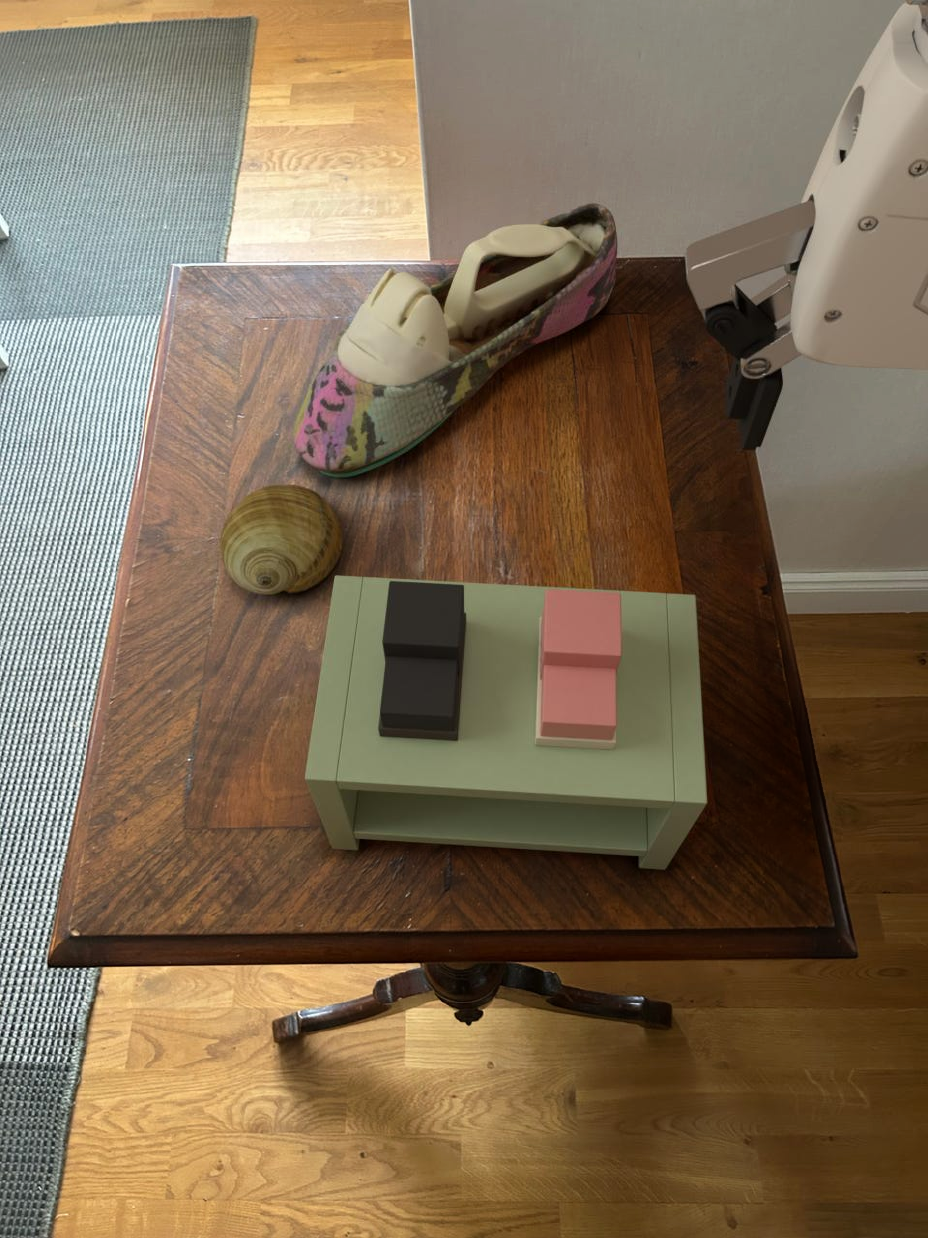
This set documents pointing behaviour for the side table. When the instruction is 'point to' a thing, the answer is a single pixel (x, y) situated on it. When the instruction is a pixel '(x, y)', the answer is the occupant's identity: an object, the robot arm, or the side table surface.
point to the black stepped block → (423, 661)
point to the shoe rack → (511, 735)
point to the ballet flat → (451, 337)
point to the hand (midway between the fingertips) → (866, 426)
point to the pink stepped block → (578, 669)
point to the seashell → (280, 540)
